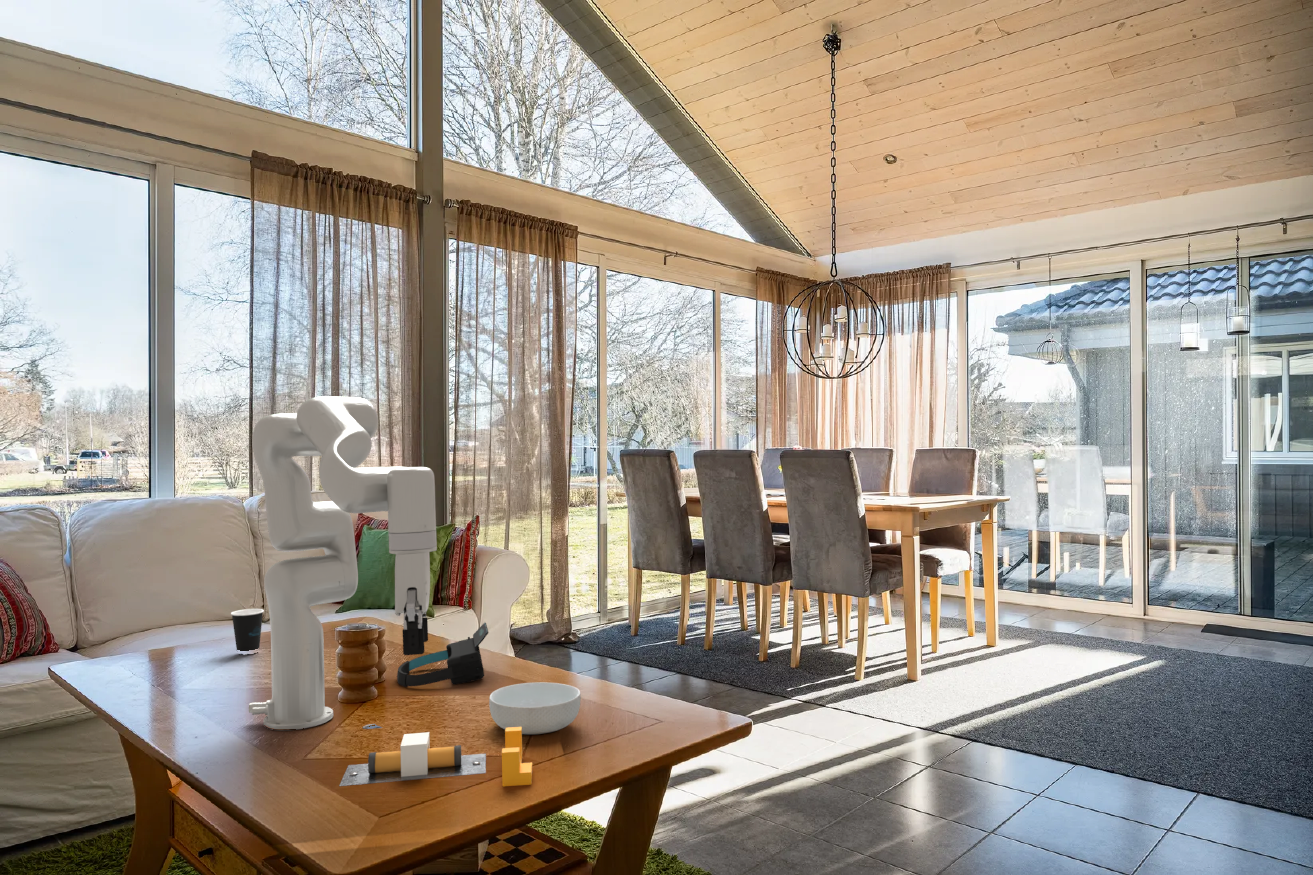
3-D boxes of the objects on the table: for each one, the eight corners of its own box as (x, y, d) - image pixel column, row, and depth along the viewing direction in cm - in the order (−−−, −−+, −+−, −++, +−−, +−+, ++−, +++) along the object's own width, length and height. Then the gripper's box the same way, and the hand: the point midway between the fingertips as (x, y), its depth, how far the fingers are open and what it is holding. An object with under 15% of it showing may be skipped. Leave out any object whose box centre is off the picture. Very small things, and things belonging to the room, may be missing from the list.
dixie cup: (260, 655, 228) (260, 613, 229) (227, 657, 227) (227, 615, 227) (267, 648, 236) (266, 607, 236) (235, 651, 235) (235, 609, 235)
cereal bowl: (555, 751, 151) (554, 710, 151) (472, 742, 157) (471, 702, 157) (596, 721, 167) (595, 684, 167) (518, 714, 173) (518, 678, 173)
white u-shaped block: (401, 776, 138) (400, 746, 138) (404, 763, 143) (404, 734, 143) (427, 774, 138) (426, 743, 138) (429, 761, 144) (429, 732, 144)
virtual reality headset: (497, 678, 197) (489, 635, 196) (397, 703, 192) (388, 659, 191) (492, 658, 215) (485, 618, 214) (401, 681, 210) (393, 640, 209)
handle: (368, 776, 138) (368, 756, 138) (370, 770, 141) (370, 750, 141) (460, 768, 141) (460, 748, 141) (461, 762, 144) (461, 742, 144)
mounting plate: (339, 794, 134) (339, 784, 134) (348, 772, 143) (348, 764, 143) (485, 780, 138) (485, 771, 138) (486, 760, 147) (485, 752, 147)
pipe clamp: (531, 793, 133) (530, 751, 133) (502, 795, 133) (501, 752, 133) (533, 765, 145) (532, 726, 145) (506, 767, 145) (505, 727, 145)
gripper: (394, 539, 151) (397, 639, 151) (383, 548, 134) (386, 661, 134) (438, 537, 153) (442, 636, 152) (433, 546, 136) (437, 657, 135)
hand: (416, 648), depth 143 cm, fingers open, 9 cm apart
